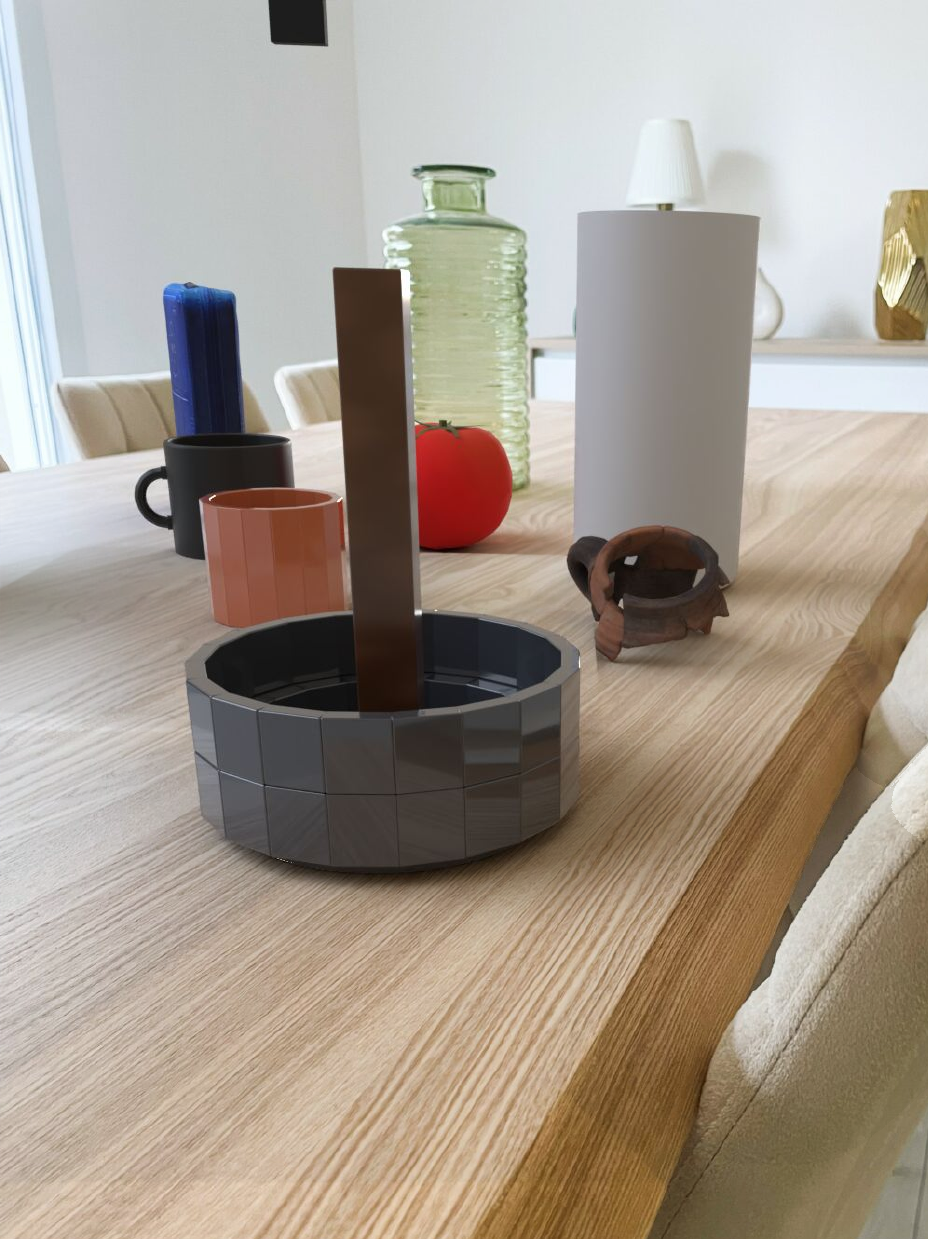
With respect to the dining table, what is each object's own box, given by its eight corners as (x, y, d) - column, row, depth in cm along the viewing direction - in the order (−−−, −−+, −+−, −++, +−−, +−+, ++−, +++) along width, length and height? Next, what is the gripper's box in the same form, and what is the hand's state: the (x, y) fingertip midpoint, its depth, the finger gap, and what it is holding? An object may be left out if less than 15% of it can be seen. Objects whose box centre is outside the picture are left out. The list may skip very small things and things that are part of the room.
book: (177, 501, 120) (153, 281, 112) (233, 499, 122) (212, 282, 114) (198, 526, 108) (172, 282, 100) (259, 523, 110) (238, 284, 102)
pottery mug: (756, 645, 78) (764, 546, 71) (671, 738, 73) (670, 642, 67) (608, 571, 82) (602, 473, 76) (519, 655, 78) (504, 558, 71)
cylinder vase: (765, 577, 94) (791, 220, 84) (684, 607, 84) (704, 209, 74) (629, 556, 100) (639, 221, 90) (540, 582, 91) (540, 211, 81)
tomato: (371, 533, 107) (365, 411, 102) (499, 530, 109) (498, 411, 105) (385, 561, 96) (378, 426, 92) (526, 557, 99) (526, 426, 95)
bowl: (150, 885, 44) (127, 715, 41) (253, 738, 58) (240, 605, 56) (579, 888, 44) (582, 721, 42) (576, 742, 59) (578, 611, 56)
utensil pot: (197, 641, 74) (182, 508, 70) (232, 607, 81) (220, 486, 78) (336, 643, 74) (327, 510, 71) (358, 610, 82) (351, 489, 78)
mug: (153, 547, 99) (139, 432, 95) (303, 545, 101) (295, 433, 97) (131, 572, 90) (115, 447, 87) (296, 570, 92) (286, 447, 89)
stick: (363, 797, 50) (331, 267, 42) (372, 775, 52) (343, 268, 44) (421, 797, 50) (401, 269, 42) (428, 776, 52) (409, 270, 44)
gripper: (228, -939, 35) (282, -50, 43) (376, -452, 57) (392, 66, 66) (-37, -954, 34) (69, -59, 43) (217, -460, 57) (254, 60, 66)
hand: (265, 18), depth 54 cm, fingers open, 13 cm apart
